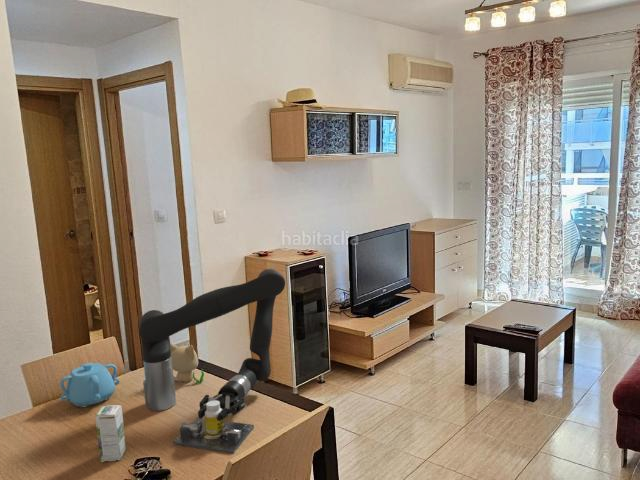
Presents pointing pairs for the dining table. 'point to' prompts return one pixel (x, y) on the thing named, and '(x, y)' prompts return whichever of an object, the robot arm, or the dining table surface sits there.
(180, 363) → the kitten
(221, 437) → the base
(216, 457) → the dining table surface
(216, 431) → the supplement bottle
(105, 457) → the syrup box
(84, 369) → the decorative pot
